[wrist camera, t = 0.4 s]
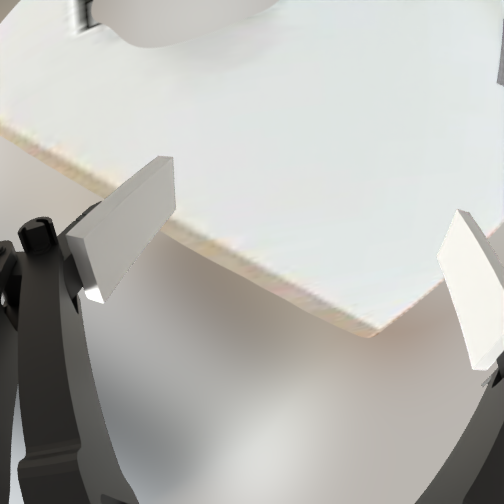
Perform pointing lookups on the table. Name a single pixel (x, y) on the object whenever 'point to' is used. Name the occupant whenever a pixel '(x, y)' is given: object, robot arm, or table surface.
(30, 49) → the table surface
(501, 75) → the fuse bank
